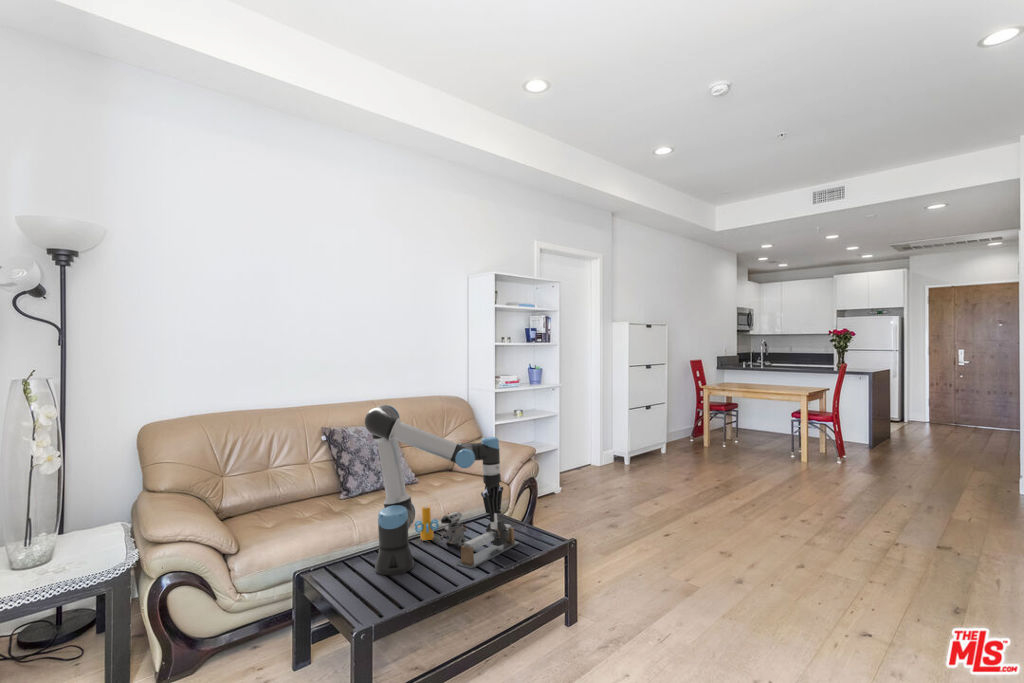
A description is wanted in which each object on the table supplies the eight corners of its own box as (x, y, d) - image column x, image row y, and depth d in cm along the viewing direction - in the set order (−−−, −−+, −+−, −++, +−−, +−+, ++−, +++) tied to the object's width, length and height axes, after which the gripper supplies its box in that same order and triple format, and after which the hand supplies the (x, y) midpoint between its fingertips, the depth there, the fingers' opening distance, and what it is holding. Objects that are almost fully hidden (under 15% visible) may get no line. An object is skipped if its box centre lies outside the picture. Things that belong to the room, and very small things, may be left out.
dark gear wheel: (505, 547, 220) (504, 523, 220) (486, 543, 225) (485, 520, 226) (508, 545, 221) (507, 522, 222) (490, 542, 227) (489, 519, 228)
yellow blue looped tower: (409, 543, 237) (408, 509, 238) (420, 535, 247) (419, 503, 248) (434, 544, 233) (432, 510, 234) (443, 536, 243) (442, 504, 244)
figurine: (436, 549, 227) (434, 515, 228) (455, 542, 235) (454, 508, 236) (449, 553, 221) (448, 518, 221) (469, 546, 229) (468, 511, 230)
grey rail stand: (472, 568, 203) (471, 546, 204) (456, 564, 208) (456, 543, 208) (518, 543, 229) (517, 524, 230) (504, 540, 234) (503, 521, 234)
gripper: (489, 477, 216) (491, 534, 215) (507, 471, 226) (510, 525, 225) (475, 475, 220) (477, 531, 219) (494, 469, 231) (496, 523, 230)
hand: (494, 528), depth 222 cm, fingers closed
